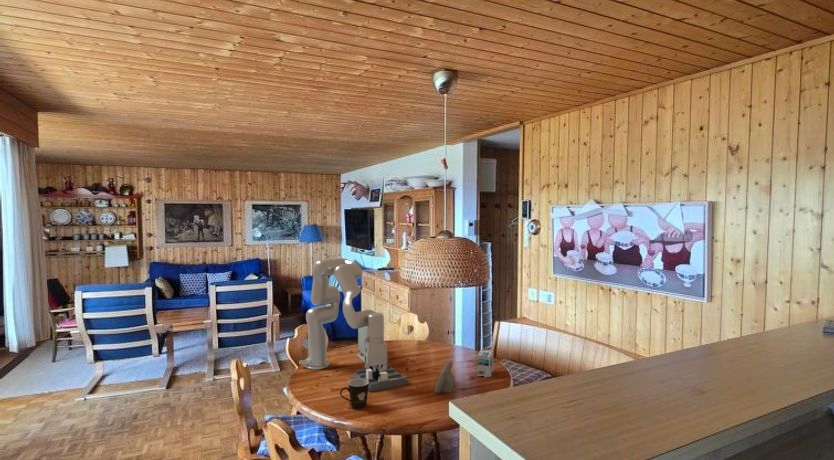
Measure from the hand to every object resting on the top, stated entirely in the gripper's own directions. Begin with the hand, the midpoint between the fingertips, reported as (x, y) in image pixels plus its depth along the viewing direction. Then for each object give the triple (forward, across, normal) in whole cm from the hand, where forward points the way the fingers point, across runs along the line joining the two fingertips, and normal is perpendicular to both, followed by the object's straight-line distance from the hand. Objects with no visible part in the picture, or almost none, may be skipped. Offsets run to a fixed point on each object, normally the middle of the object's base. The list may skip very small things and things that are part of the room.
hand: (375, 378), depth 196 cm
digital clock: (+4, +28, -14) cm, 32 cm away
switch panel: (+4, +5, +7) cm, 10 cm away
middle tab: (+2, 0, +7) cm, 7 cm away
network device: (+4, +12, +42) cm, 44 cm away
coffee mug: (+4, -15, -14) cm, 21 cm away
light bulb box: (+4, +56, -8) cm, 57 cm away
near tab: (+2, +4, 0) cm, 4 cm away
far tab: (+2, +9, +14) cm, 17 cm away
